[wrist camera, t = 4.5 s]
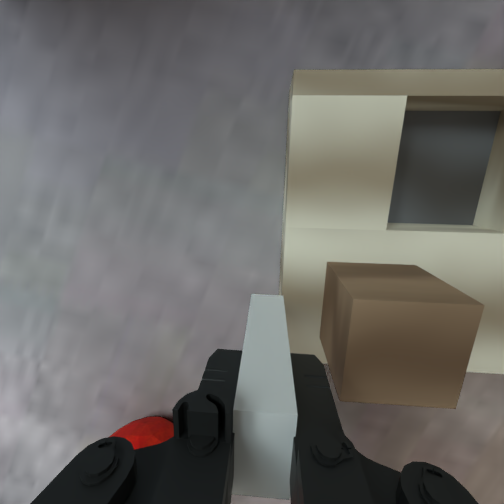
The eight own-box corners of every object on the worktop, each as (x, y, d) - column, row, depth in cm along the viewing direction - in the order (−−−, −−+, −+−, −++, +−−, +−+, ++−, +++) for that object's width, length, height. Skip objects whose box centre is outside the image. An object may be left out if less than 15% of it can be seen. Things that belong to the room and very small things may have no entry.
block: (327, 261, 14) (353, 299, 9) (415, 264, 14) (485, 305, 9) (319, 337, 15) (339, 401, 11) (400, 341, 15) (455, 409, 10)
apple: (207, 475, 23) (179, 611, 15) (117, 463, 23) (49, 592, 16) (211, 399, 20) (179, 517, 13) (111, 388, 21) (29, 497, 14)
